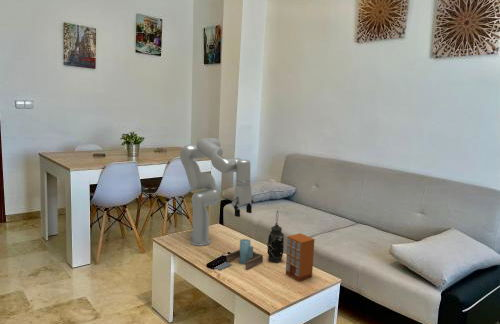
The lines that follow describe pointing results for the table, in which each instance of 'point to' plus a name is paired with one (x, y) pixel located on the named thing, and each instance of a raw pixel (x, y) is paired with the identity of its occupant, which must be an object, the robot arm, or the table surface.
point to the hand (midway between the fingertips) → (243, 214)
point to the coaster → (223, 266)
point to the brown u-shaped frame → (249, 264)
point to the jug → (245, 251)
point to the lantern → (275, 244)
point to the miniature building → (299, 257)
